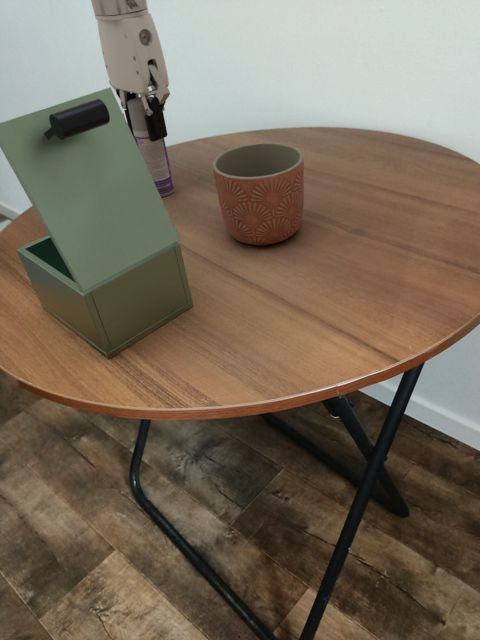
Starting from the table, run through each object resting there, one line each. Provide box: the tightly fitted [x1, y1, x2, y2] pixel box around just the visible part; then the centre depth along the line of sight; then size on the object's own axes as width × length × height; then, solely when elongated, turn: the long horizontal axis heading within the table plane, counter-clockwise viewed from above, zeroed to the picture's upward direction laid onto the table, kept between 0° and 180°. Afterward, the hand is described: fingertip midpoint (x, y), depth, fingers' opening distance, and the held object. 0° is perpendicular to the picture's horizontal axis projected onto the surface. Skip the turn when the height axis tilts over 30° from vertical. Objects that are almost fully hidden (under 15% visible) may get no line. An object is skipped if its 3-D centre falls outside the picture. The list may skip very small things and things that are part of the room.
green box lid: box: [0, 86, 181, 292], centre depth 51 cm, size 16×13×6 cm
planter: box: [211, 141, 305, 246], centre depth 74 cm, size 12×12×11 cm
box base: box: [15, 233, 194, 360], centre depth 63 cm, size 16×13×9 cm
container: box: [127, 96, 175, 198], centre depth 86 cm, size 5×5×15 cm
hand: (148, 134), depth 85 cm, fingers closed on container, 4 cm apart
